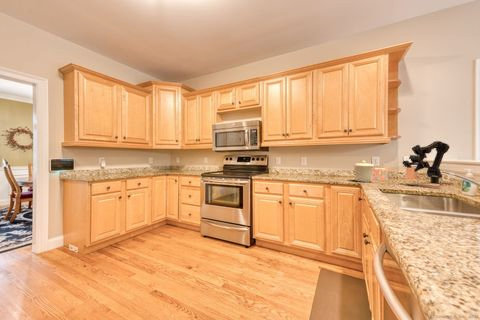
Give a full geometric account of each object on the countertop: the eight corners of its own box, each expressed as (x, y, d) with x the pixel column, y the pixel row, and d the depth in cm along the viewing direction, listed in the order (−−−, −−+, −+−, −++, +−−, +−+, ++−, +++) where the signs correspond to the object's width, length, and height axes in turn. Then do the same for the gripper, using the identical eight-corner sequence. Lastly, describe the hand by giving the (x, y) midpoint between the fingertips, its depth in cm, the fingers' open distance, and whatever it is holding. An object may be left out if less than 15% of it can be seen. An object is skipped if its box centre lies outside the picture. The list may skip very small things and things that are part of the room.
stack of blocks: (365, 179, 223) (365, 168, 222) (363, 179, 229) (363, 168, 228) (388, 180, 218) (388, 168, 217) (385, 179, 224) (385, 168, 223)
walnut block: (421, 186, 180) (421, 182, 180) (440, 187, 171) (440, 184, 171) (418, 187, 173) (418, 184, 173) (437, 189, 163) (437, 185, 163)
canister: (378, 182, 199) (378, 160, 198) (359, 182, 199) (359, 161, 198) (367, 180, 217) (367, 160, 216) (349, 180, 217) (350, 160, 216)
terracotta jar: (409, 178, 184) (410, 167, 184) (418, 179, 178) (419, 168, 177) (404, 178, 182) (404, 167, 182) (413, 179, 175) (413, 168, 175)
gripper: (403, 152, 189) (395, 164, 186) (427, 151, 172) (418, 165, 168) (409, 160, 192) (401, 172, 189) (433, 160, 174) (424, 174, 171)
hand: (410, 171), depth 179 cm, fingers closed on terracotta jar, 6 cm apart
